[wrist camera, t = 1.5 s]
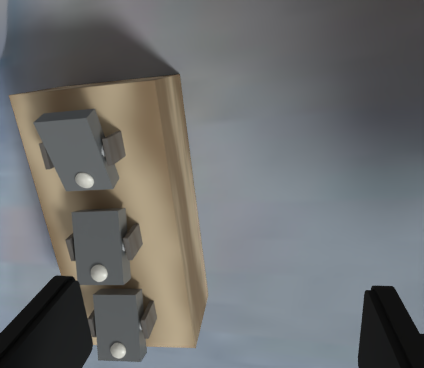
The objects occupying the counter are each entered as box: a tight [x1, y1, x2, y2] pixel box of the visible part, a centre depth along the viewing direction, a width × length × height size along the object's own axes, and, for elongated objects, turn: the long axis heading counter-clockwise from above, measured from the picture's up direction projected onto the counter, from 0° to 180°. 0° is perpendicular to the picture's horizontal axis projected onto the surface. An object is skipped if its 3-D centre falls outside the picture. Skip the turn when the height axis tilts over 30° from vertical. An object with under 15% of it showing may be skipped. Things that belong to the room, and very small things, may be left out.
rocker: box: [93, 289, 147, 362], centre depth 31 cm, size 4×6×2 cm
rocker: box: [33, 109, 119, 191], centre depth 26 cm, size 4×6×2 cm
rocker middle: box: [71, 208, 131, 285], centre depth 29 cm, size 4×6×2 cm
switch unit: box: [9, 74, 208, 348], centre depth 33 cm, size 12×25×11 cm, turn 6°
